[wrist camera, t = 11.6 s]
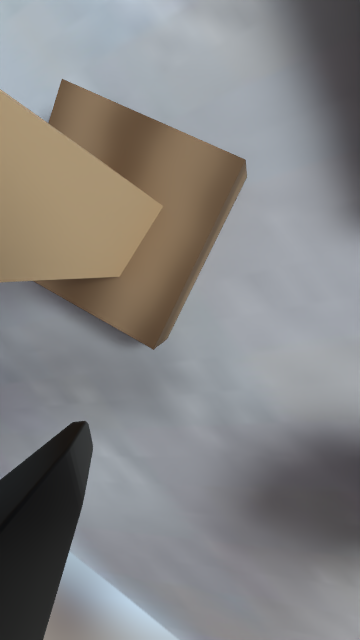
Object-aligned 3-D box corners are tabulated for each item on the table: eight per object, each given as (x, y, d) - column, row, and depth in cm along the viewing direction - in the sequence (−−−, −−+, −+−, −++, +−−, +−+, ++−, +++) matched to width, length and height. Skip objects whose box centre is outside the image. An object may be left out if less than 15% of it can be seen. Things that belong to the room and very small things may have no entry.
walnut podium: (246, 177, 19) (245, 159, 16) (166, 339, 22) (153, 349, 19) (89, 105, 20) (62, 78, 17) (35, 265, 23) (4, 264, 20)
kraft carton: (163, 206, 17) (-75, 39, 5) (119, 276, 19) (-156, 289, 6) (97, 158, 18) (-273, -106, 5) (59, 230, 19) (-308, 155, 7)
